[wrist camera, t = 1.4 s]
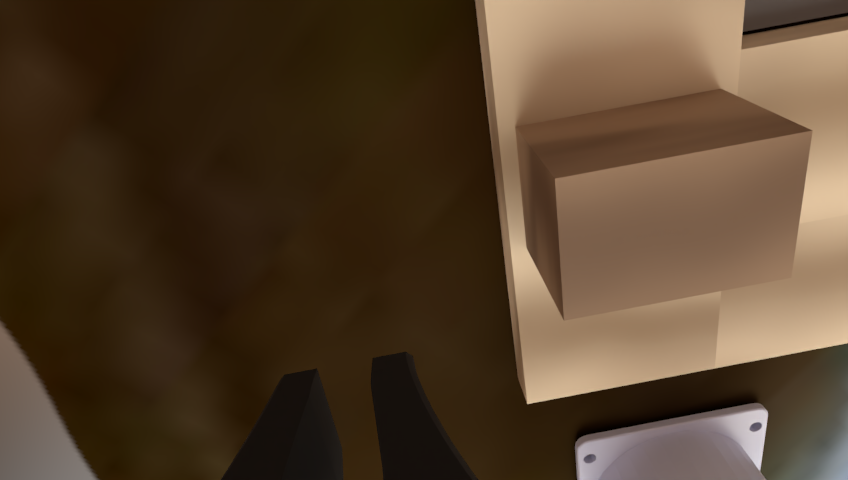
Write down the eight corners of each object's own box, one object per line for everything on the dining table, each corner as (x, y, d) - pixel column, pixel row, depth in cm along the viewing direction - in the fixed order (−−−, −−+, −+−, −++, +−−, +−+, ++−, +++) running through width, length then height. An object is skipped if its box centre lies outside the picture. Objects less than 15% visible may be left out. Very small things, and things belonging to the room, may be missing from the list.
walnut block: (712, 212, 19) (791, 277, 16) (526, 247, 19) (564, 321, 16) (721, 88, 18) (812, 130, 14) (515, 126, 17) (554, 178, 14)
